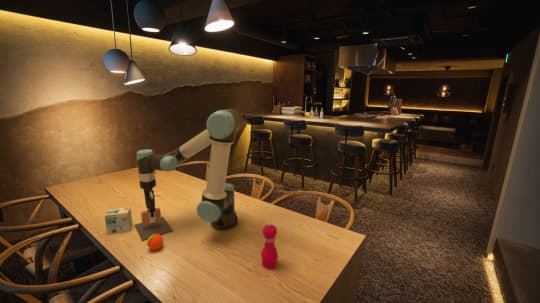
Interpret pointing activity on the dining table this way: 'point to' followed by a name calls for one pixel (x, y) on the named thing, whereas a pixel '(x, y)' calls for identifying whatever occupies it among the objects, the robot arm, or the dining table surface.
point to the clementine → (155, 241)
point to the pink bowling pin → (269, 247)
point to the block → (146, 216)
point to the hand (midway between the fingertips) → (151, 220)
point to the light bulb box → (118, 220)
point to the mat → (153, 229)
